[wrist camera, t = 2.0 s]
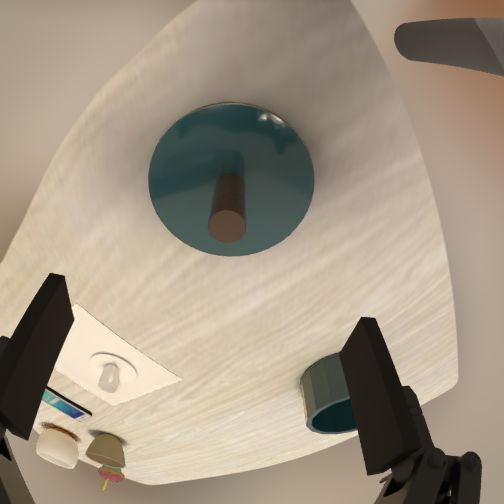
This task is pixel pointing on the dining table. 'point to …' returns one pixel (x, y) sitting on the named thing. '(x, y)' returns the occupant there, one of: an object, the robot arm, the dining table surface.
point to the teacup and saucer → (108, 362)
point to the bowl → (327, 398)
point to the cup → (58, 447)
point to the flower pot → (106, 451)
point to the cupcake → (110, 474)
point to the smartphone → (65, 405)
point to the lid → (231, 179)
